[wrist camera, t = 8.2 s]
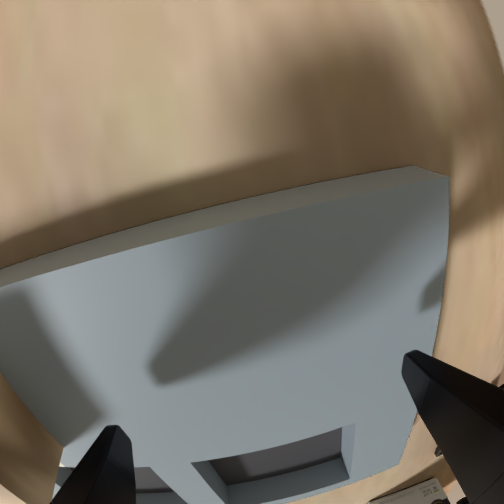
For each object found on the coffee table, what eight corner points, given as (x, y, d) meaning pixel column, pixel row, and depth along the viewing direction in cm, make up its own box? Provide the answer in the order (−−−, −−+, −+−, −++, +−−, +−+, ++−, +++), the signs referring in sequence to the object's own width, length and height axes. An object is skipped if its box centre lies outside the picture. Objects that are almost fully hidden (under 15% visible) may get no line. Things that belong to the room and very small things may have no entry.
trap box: (387, 443, 17) (398, 464, 16) (70, 493, 16) (67, 513, 14) (413, 165, 10) (449, 176, 8) (-88, 303, 9) (-107, 323, 7)
